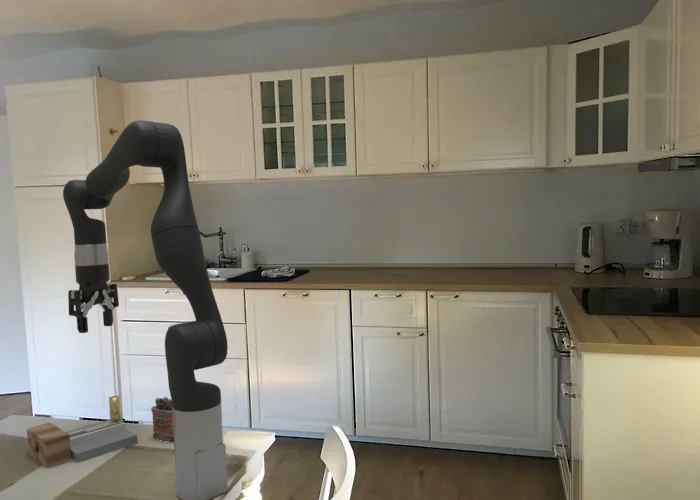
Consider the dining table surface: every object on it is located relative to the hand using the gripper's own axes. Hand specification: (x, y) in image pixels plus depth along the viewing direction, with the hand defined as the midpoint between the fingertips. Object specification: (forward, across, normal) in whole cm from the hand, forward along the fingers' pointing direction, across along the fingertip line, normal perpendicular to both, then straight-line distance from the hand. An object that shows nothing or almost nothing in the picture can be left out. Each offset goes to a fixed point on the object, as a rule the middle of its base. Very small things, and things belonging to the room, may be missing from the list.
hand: (96, 329), depth 141 cm
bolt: (+25, -2, -2) cm, 25 cm away
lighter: (+27, +3, -16) cm, 32 cm away
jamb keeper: (+27, -13, +4) cm, 30 cm away
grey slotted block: (+27, -4, -1) cm, 27 cm away
